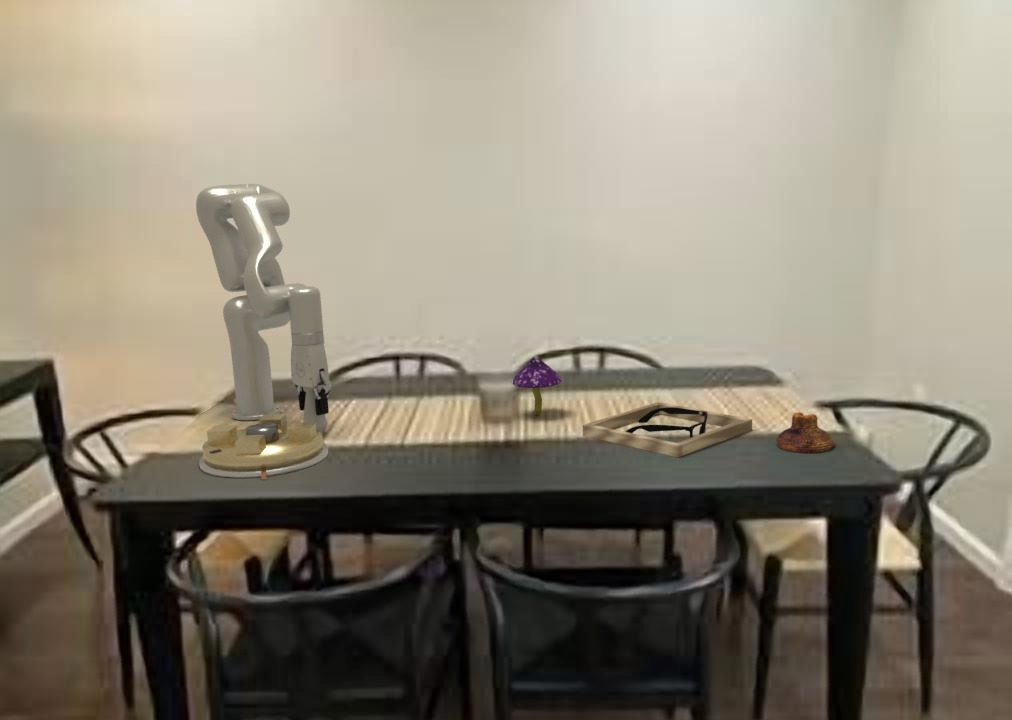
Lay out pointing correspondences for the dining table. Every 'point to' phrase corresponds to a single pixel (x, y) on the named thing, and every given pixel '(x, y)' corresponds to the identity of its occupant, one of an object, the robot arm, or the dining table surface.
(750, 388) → the dining table surface
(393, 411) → the dining table surface
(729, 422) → the shallow square wooden tray
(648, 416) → the glasses
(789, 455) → the dining table surface
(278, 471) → the round white base
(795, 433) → the bell
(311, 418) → the salt shaker
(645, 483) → the dining table surface
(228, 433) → the round wooden platform
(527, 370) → the decorative mushroom
